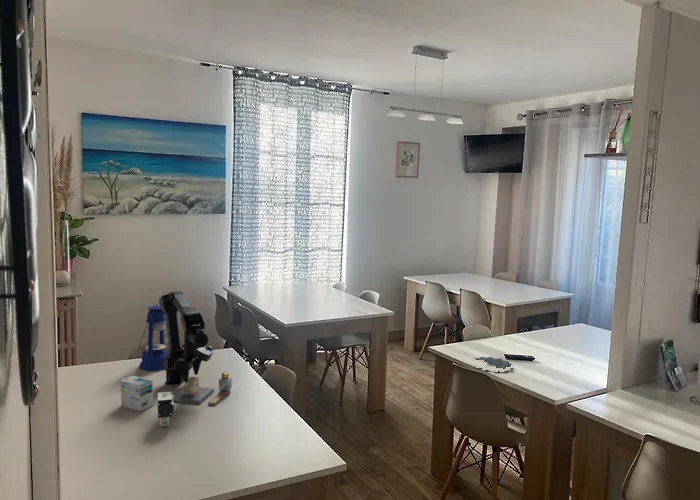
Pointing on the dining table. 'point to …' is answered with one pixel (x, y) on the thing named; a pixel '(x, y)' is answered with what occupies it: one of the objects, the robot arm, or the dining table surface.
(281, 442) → the dining table surface
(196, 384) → the housing block
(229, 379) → the grey and brass block
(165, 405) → the pneumatic valve
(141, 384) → the light bulb box
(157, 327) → the lantern
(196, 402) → the press bed
